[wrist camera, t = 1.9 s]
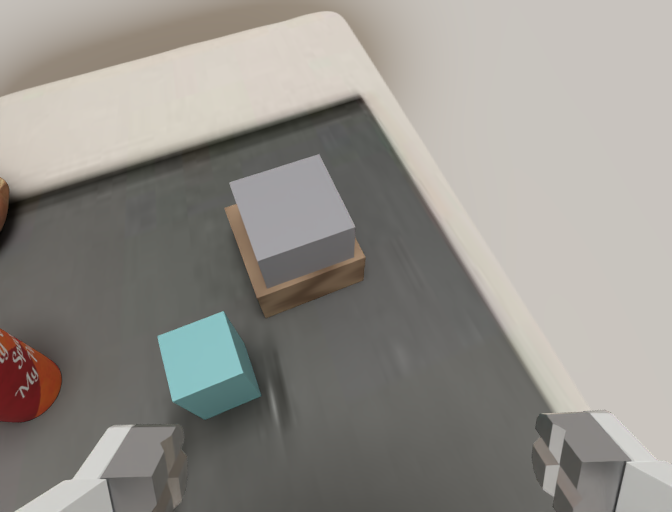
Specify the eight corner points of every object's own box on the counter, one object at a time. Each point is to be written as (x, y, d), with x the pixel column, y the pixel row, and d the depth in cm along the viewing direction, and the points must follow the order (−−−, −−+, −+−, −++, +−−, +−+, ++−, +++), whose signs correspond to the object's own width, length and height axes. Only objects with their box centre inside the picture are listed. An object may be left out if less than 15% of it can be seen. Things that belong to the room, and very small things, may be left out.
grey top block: (267, 288, 38) (257, 261, 33) (241, 216, 41) (229, 182, 37) (354, 257, 39) (355, 226, 35) (321, 189, 43) (319, 154, 38)
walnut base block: (266, 319, 42) (257, 298, 37) (235, 235, 46) (224, 208, 42) (363, 281, 43) (365, 257, 39) (324, 204, 48) (322, 174, 43)
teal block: (204, 419, 37) (172, 401, 30) (190, 365, 39) (157, 336, 32) (261, 395, 38) (243, 372, 31) (244, 343, 40) (223, 311, 33)
